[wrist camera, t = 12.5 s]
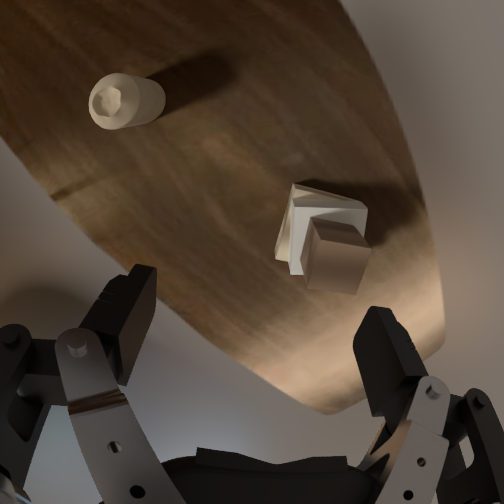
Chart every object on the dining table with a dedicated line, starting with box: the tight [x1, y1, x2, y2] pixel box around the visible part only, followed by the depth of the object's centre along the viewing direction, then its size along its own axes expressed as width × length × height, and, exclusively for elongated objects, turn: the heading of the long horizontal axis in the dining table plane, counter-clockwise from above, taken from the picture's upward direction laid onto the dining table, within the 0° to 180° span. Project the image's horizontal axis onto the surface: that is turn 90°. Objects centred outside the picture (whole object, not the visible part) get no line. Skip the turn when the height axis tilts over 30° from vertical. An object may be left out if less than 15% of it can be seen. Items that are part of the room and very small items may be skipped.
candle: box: [89, 73, 166, 129], centre depth 26 cm, size 6×6×10 cm
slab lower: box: [275, 183, 368, 262], centre depth 37 cm, size 9×9×3 cm
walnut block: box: [300, 217, 372, 295], centre depth 30 cm, size 5×5×6 cm
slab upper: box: [288, 199, 368, 275], centre depth 34 cm, size 8×8×3 cm
